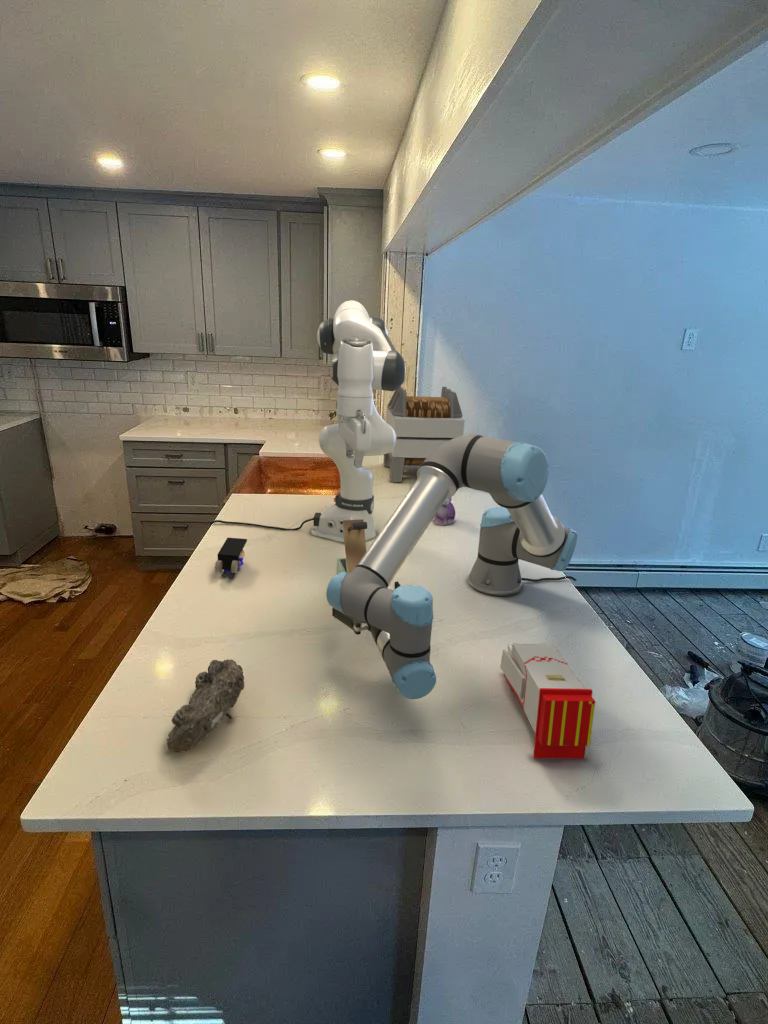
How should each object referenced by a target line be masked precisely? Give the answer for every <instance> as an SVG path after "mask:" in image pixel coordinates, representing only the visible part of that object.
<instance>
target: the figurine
mask: <svg viewBox="0 0 768 1024" xmlns="http://www.w3.org/2000/svg"><path fill="white" fill-rule="evenodd" d="M452 499H453V498H452V497H449V498H446V500H445V501H444V503H443V504H442V506H441V507H440V509H439V510H438V512H437V513H436V515H435V516H434V518H433V519H432V522H434V523H435V525H439V526H446V525H451V524H453V523H454V522H455V518H456V509H455V506H454V505H453V503H452Z"/></svg>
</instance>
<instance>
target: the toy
mask: <svg viewBox="0 0 768 1024" xmlns="http://www.w3.org/2000/svg"><path fill="white" fill-rule="evenodd" d="M499 667H500V670H501V671H502V673H503V676H504V677H505V680H506V681H507V683H508V685H509V686H510V689H511V690H512V691H513V694H514V695H515V697H516V698H517V701H518V702H519V704H520V706H521V708H523V711H524V713H525V715H526V719H528V723H530V726H531V728H532V730H533V732H534V734H535V735H534V744H533V759H566V760H567V759H571V760H572V759H574V760H575V759H577V760H578V759H580V760H584V759H585V755H586V748H587V747H590V746H591V739H592V733H593V731H592V730H593V723H594V716H595V706H596V700H595V699H594V697H593V689H592V688H586V686H585V685H584V684H583V682H582V681H581V680H580V678H579V677H578V676H577V674H576V673H575V672H574V670H573V669H572V667H571V666H570V665H569V663H568V662H567V660H566V659H565V658H564V656H563V655H562V654H561V652H560V650H559V649H558V648H556V645H554V643H519V642H518V643H514V642H512V644H507V650H506V649H502V652H501V660H500V666H499Z"/></svg>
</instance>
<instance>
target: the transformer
mask: <svg viewBox="0 0 768 1024" xmlns="http://www.w3.org/2000/svg"><path fill="white" fill-rule="evenodd" d="M440 393H441V394H440V396H415V395H414V396H413V395H412V396H411V395H407V394H408V393H407V390H406V389H404V388H403V387H402V385H401V386H400V387H399V388H397V389H396V390H395V391H393V394H392V395H391V398H390V400H389V402H388V404H387V405H386V413H385V414H386V415H385V422H386V423H388V424H389V425H390V426H391V427H392V428H393V429H394V431H395V434H396V445H395V447H394V449H393V450H392V451H391V452H390V453H387V454H383V466H384V467H388V468H389V475H388V476H389V477H388V478H389V480H390V482H391V483H402V482H403V475H404V469H405V466H406V467H407V466H411V467H412V466H413V467H415V466H416V467H417V466H418V467H420V466H421V465H422V463H423V462H424V461H425V459H426V458H427V457H428V456H429V455H430V454H431V453H433V452H434V451H435V450H436V449H437V448H439V447H440V446H441V445H443V444H445V443H446V442H448V441H450V440H452V439H454V438H456V437H459V436H462V435H464V431H465V430H464V429H465V419H464V418H463V411H462V408H461V405H460V402H459V398H458V395H457V392H455V391H453V390H452V389H451V388H447V386H442V387H441V392H440Z"/></svg>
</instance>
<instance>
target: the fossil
mask: <svg viewBox="0 0 768 1024" xmlns="http://www.w3.org/2000/svg"><path fill="white" fill-rule="evenodd" d="M243 670H244V669H243V667H242V665H240V664H237V662H236V661H235V660H234V659H232V658H231V659H227V658H226V659H224V660H223V661H222V660H217V659H212V660H211V661H210V663H209V665H208V666H207V671H201V672H199V673H198V674H197V675H196V676H195V680H194V684H195V685H194V687H195V689H194V690H193V693H192V694H191V697H190V698H189V700H188V704H184V705H182V706H181V707H180V709H177V710H176V711H175V713H174V715H173V716H172V718H171V723H172V724H173V727H172V730H171V731H170V732H168V734H167V738H166V741H167V742H166V745H167V749H168V750H169V751H173V752H174V753H176V754H178V753H182V752H188V751H189V752H192V751H193V750H195V748H196V747H197V746H199V744H200V743H201V742H203V741H204V740H205V739H206V738H207V737H208V736H209V735H210V734H211V733H212V732H214V730H215V729H217V727H218V726H219V724H220V722H221V721H222V720H223V719H224V718H225V716H226V717H227V719H229V720H233V717H232V715H230V714H229V710H230V709H231V708H234V706H235V704H236V703H237V702H238V699H239V697H240V695H241V693H242V691H243V690H245V689H244V688H245V675H244V671H243Z"/></svg>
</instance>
